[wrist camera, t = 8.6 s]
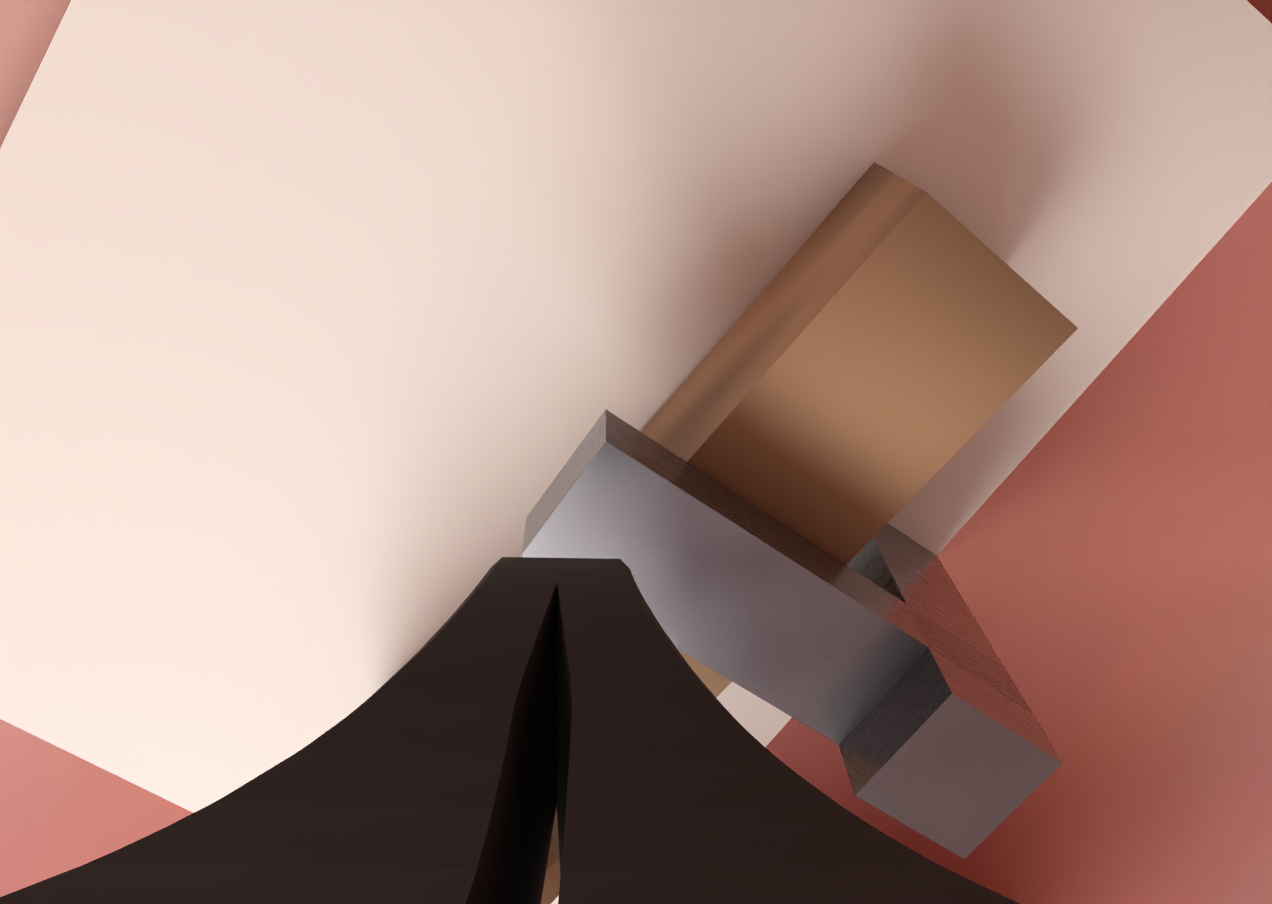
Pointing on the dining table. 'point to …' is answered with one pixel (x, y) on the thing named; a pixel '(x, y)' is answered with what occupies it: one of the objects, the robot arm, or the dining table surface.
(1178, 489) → the dining table surface
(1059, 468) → the dining table surface
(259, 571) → the white plate
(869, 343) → the walnut link
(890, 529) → the metal keeper
